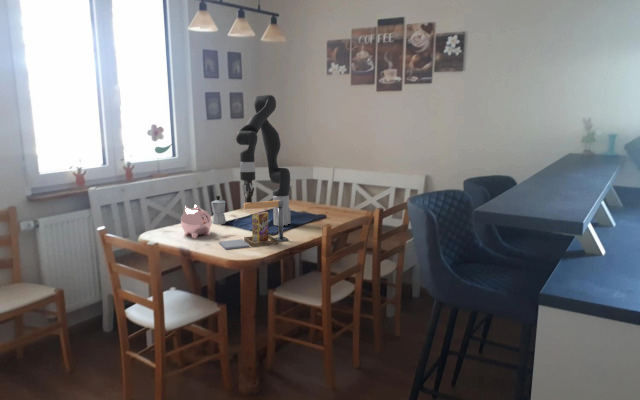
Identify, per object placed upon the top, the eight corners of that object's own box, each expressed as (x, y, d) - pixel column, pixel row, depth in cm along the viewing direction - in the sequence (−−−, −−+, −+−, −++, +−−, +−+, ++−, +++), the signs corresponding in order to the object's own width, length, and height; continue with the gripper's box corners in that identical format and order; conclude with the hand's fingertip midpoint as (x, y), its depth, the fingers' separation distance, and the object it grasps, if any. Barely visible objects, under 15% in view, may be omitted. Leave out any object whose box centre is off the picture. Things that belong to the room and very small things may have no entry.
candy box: (259, 244, 255) (258, 215, 252) (252, 243, 257) (251, 214, 254) (269, 241, 262) (268, 212, 260) (262, 240, 264) (261, 211, 262)
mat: (241, 241, 263) (241, 239, 262) (249, 247, 250) (249, 245, 250) (219, 243, 258) (218, 241, 258) (225, 249, 245) (225, 247, 245)
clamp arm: (282, 205, 263) (281, 199, 263) (284, 206, 260) (284, 200, 260) (243, 208, 255) (243, 202, 254) (245, 209, 252) (245, 203, 251)
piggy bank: (200, 230, 288) (198, 203, 286) (217, 235, 276) (216, 206, 273) (175, 235, 278) (174, 206, 275) (192, 240, 265) (191, 210, 263)
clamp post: (284, 238, 268) (283, 205, 265) (288, 240, 262) (287, 207, 260) (273, 239, 265) (272, 206, 263) (277, 242, 260) (276, 208, 257)
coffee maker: (220, 228, 294) (219, 197, 291) (207, 227, 297) (205, 197, 294) (232, 223, 308) (231, 194, 305) (220, 222, 311) (218, 193, 308)
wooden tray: (269, 238, 268) (269, 234, 268) (277, 243, 256) (277, 240, 256) (244, 240, 263) (244, 237, 263) (251, 246, 251) (251, 242, 250)
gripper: (258, 171, 250) (259, 205, 253) (251, 169, 262) (251, 202, 265) (244, 172, 247) (245, 207, 250) (236, 169, 259) (238, 203, 262)
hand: (248, 204), depth 257 cm, fingers closed
